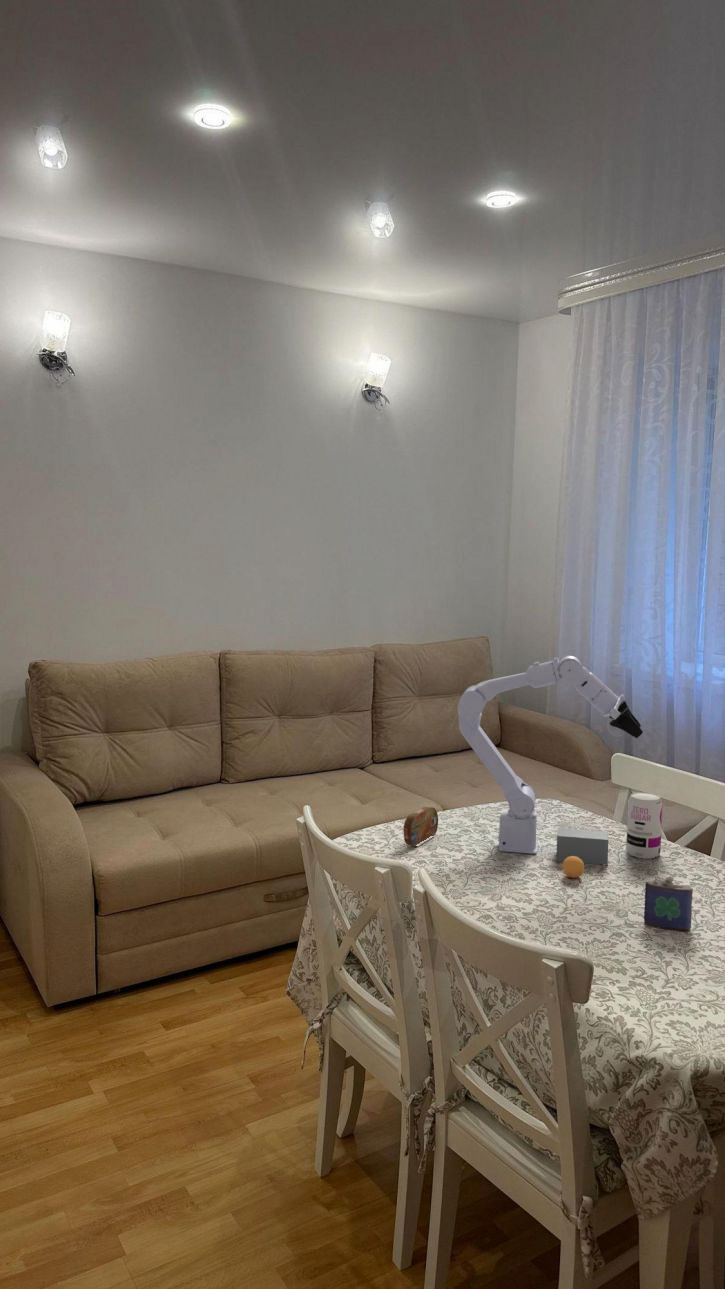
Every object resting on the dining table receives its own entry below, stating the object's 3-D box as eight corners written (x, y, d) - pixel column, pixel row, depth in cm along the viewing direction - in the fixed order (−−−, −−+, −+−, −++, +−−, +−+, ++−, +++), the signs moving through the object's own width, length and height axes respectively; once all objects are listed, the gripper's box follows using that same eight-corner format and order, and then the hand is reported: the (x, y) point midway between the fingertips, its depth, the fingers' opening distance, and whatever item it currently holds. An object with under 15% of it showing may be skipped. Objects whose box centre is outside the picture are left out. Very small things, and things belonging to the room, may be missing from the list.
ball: (561, 880, 211) (562, 859, 211) (562, 872, 216) (562, 852, 216) (584, 882, 210) (584, 861, 210) (583, 874, 215) (584, 853, 214)
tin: (411, 851, 230) (412, 819, 229) (401, 849, 232) (401, 817, 231) (439, 834, 243) (439, 804, 242) (428, 832, 245) (429, 802, 244)
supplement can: (656, 849, 232) (658, 791, 230) (663, 860, 224) (666, 801, 222) (623, 847, 233) (625, 791, 231) (629, 859, 225) (632, 800, 223)
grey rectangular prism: (556, 860, 224) (557, 835, 223) (556, 852, 230) (557, 827, 229) (607, 865, 221) (608, 839, 220) (606, 856, 227) (607, 831, 226)
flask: (691, 927, 186) (693, 877, 185) (690, 933, 184) (692, 882, 182) (644, 920, 190) (646, 871, 188) (642, 926, 187) (644, 876, 186)
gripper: (609, 687, 215) (653, 726, 214) (608, 677, 229) (648, 714, 228) (588, 708, 217) (631, 747, 216) (588, 697, 231) (628, 734, 230)
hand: (639, 731), depth 222 cm, fingers open, 7 cm apart
